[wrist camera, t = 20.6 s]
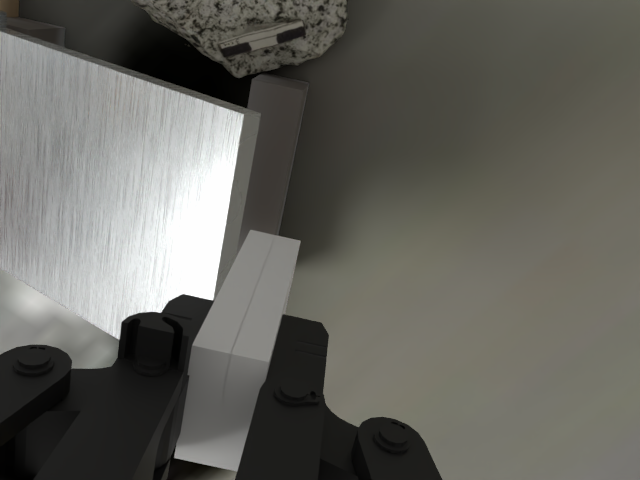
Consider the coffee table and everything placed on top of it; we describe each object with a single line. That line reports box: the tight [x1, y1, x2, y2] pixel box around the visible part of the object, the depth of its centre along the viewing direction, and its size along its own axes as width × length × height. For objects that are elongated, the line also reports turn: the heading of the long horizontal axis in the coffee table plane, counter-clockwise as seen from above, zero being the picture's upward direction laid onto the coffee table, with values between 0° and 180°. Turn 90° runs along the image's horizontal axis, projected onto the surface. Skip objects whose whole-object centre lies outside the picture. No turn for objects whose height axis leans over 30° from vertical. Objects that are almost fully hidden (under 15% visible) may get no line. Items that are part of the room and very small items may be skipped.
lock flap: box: [0, 11, 261, 340], centre depth 21 cm, size 1×10×13 cm
